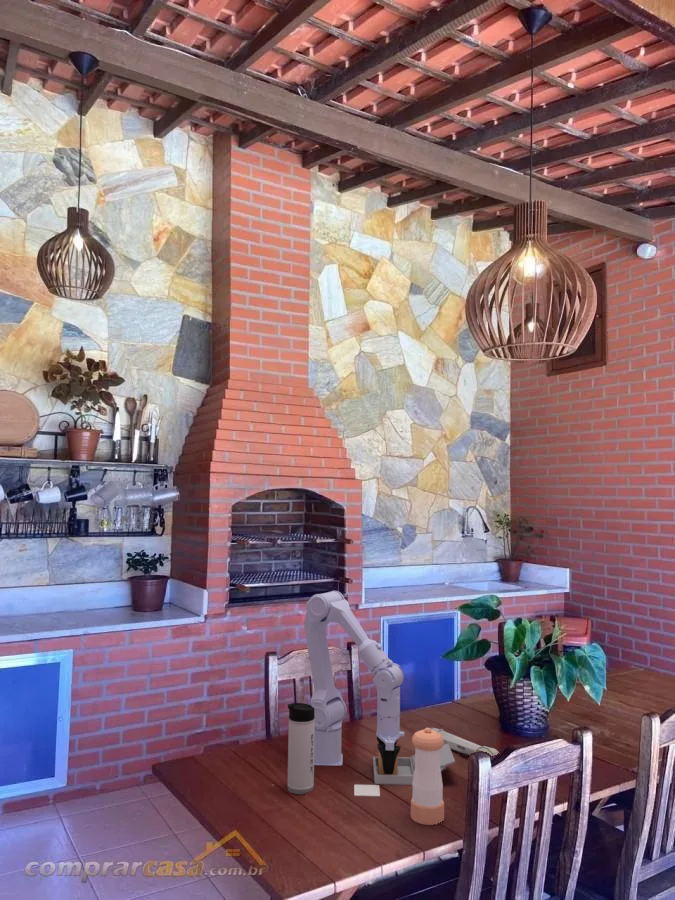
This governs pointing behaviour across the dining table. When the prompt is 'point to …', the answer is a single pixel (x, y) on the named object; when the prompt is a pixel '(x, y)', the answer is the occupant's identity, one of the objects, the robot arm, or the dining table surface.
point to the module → (381, 771)
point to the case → (409, 768)
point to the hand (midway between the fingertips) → (387, 769)
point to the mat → (366, 790)
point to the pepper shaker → (427, 778)
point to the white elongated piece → (463, 744)
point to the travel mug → (301, 748)
